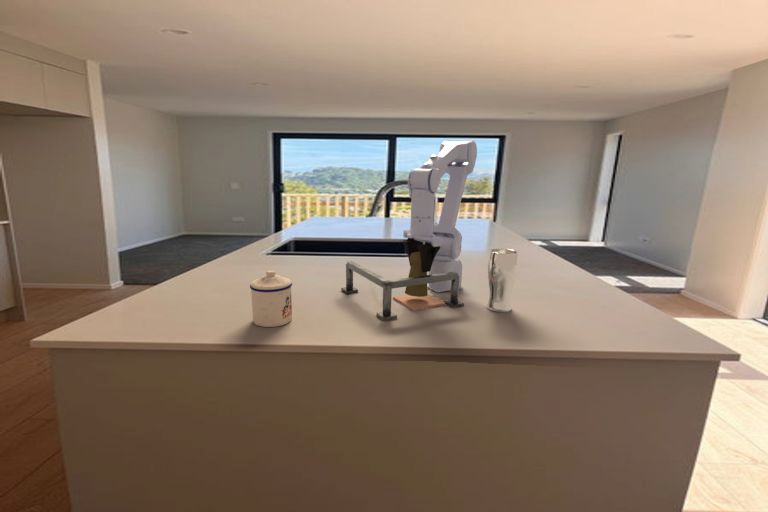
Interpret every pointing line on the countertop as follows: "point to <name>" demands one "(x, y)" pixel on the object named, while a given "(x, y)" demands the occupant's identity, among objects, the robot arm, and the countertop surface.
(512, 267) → the beer glass
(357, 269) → the bent rail
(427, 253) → the robot arm
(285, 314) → the teacup with lid
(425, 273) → the cork
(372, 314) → the countertop surface
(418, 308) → the mat
